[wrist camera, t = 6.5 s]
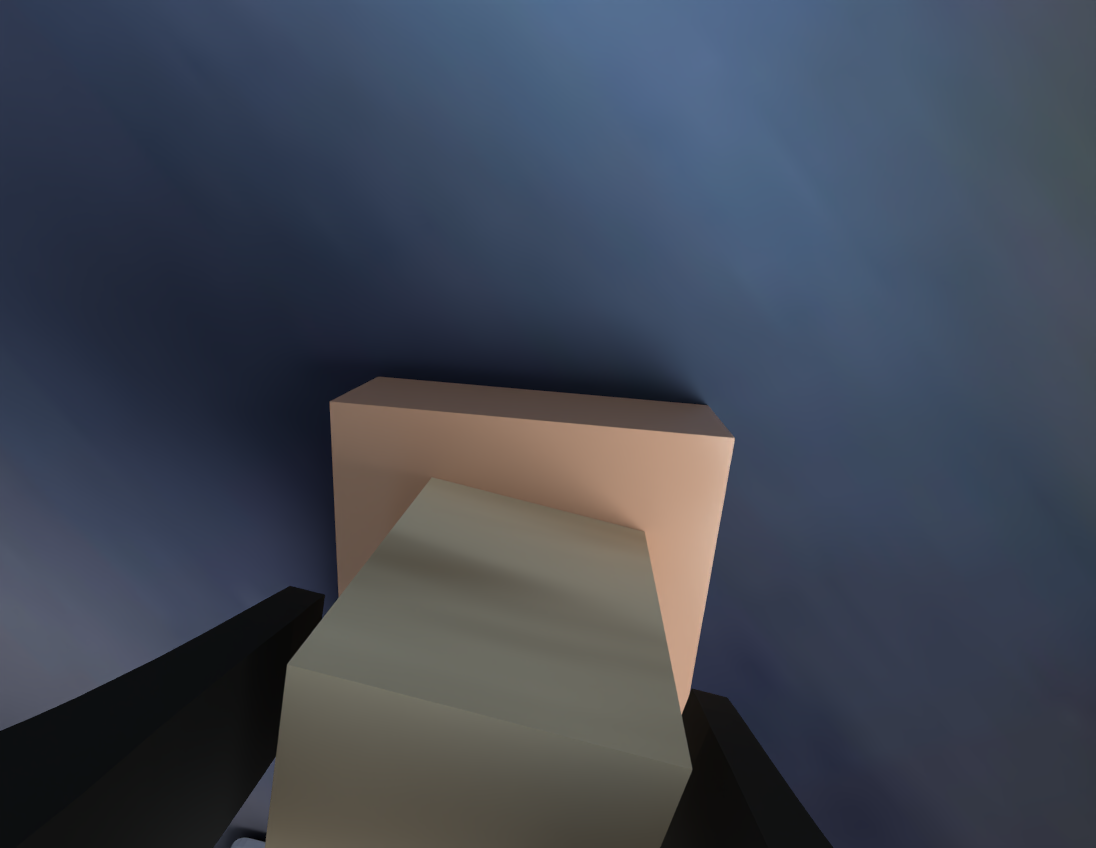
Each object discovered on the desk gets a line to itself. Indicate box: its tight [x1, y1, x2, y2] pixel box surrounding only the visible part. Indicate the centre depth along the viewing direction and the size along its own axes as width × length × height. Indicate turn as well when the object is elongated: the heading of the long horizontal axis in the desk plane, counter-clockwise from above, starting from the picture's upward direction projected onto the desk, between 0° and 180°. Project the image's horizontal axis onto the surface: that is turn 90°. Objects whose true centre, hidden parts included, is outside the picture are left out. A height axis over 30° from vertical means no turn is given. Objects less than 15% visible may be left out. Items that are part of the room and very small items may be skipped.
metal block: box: [265, 477, 692, 848], centre depth 9 cm, size 4×4×6 cm
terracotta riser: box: [330, 377, 735, 715], centre depth 13 cm, size 8×8×3 cm
